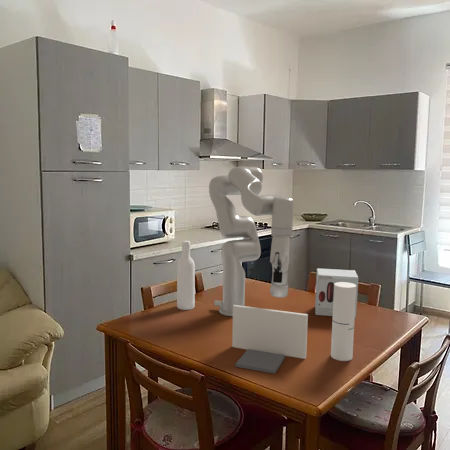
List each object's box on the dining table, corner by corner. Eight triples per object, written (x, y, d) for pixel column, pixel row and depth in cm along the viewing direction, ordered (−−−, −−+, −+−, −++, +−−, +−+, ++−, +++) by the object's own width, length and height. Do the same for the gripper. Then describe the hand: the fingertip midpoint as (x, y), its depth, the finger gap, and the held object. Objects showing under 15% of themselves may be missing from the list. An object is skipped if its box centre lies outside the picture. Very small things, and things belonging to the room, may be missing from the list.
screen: (232, 346, 167) (233, 305, 165) (233, 345, 168) (234, 304, 166) (305, 358, 158) (306, 315, 156) (306, 357, 159) (307, 314, 157)
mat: (235, 366, 151) (235, 363, 151) (248, 351, 163) (248, 348, 163) (274, 373, 146) (274, 370, 146) (285, 357, 158) (285, 354, 158)
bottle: (198, 306, 213) (198, 241, 209) (187, 311, 206) (187, 243, 202) (184, 303, 217) (184, 239, 213) (173, 307, 210) (173, 241, 206)
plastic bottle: (287, 300, 171) (290, 246, 168) (268, 298, 172) (271, 244, 169) (288, 295, 177) (291, 242, 174) (270, 293, 178) (273, 241, 175)
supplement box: (315, 315, 203) (317, 274, 200) (314, 306, 216) (316, 267, 213) (357, 318, 200) (359, 276, 197) (353, 308, 213) (355, 269, 211)
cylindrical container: (328, 352, 163) (331, 282, 160) (348, 352, 164) (351, 281, 161) (334, 361, 156) (338, 287, 153) (355, 360, 157) (359, 287, 154)
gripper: (277, 227, 180) (275, 273, 183) (265, 234, 164) (263, 284, 167) (297, 229, 177) (294, 276, 180) (286, 236, 162) (283, 287, 164)
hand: (279, 279), depth 174 cm, fingers closed on plastic bottle, 5 cm apart
